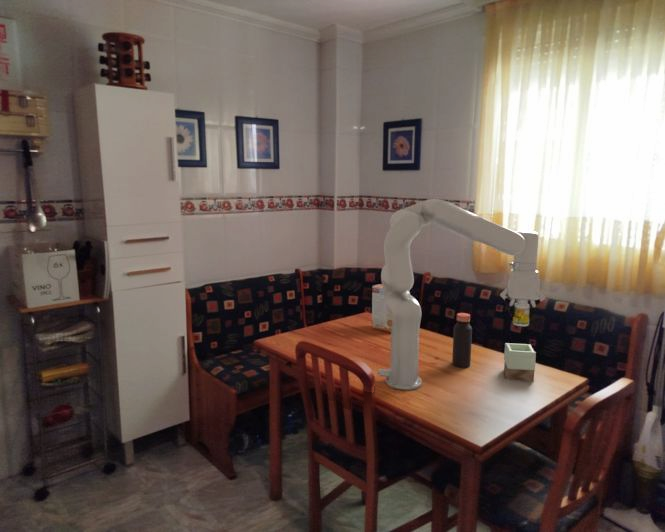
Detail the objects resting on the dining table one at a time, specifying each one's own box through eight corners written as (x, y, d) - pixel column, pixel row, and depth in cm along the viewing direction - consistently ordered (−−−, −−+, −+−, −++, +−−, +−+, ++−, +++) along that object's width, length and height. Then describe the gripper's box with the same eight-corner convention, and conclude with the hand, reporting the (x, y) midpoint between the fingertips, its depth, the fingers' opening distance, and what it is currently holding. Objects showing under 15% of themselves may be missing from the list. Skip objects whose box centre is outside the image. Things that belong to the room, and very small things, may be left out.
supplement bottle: (532, 325, 172) (534, 299, 171) (520, 327, 170) (522, 300, 169) (520, 321, 177) (522, 295, 176) (509, 323, 175) (511, 297, 173)
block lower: (506, 380, 175) (507, 368, 174) (503, 370, 183) (504, 359, 183) (533, 382, 173) (534, 370, 172) (529, 372, 181) (530, 361, 181)
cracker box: (402, 331, 229) (403, 287, 225) (395, 334, 224) (396, 290, 220) (379, 325, 238) (379, 283, 234) (371, 327, 234) (371, 285, 230)
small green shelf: (508, 368, 174) (509, 351, 173) (504, 359, 182) (505, 342, 181) (534, 370, 172) (536, 352, 171) (529, 360, 181) (530, 344, 180)
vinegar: (470, 368, 185) (473, 317, 181) (452, 367, 186) (454, 316, 182) (469, 361, 191) (472, 312, 187) (451, 360, 192) (454, 311, 189)
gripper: (499, 267, 168) (496, 318, 172) (553, 269, 164) (549, 321, 168) (497, 263, 176) (495, 312, 179) (549, 265, 171) (545, 315, 175)
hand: (521, 316), depth 173 cm, fingers closed on supplement bottle, 5 cm apart
